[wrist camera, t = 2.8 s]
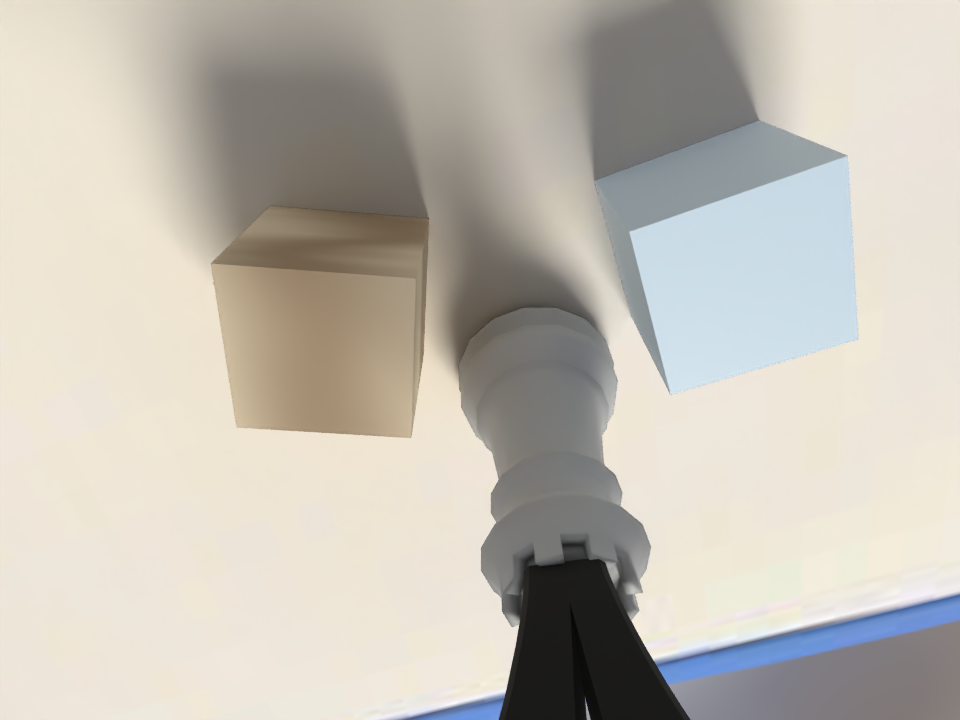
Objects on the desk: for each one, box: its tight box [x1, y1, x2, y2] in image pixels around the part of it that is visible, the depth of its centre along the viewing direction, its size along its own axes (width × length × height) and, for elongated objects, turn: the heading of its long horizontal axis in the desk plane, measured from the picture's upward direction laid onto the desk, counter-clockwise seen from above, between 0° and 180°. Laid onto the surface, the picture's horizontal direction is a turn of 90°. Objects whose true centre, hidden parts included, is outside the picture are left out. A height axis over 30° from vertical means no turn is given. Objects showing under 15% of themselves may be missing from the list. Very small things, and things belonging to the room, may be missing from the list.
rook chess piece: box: [459, 308, 651, 627], centre depth 14 cm, size 4×4×8 cm
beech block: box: [211, 206, 429, 438], centre depth 15 cm, size 4×4×4 cm
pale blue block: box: [594, 120, 858, 395], centre depth 14 cm, size 4×4×4 cm
